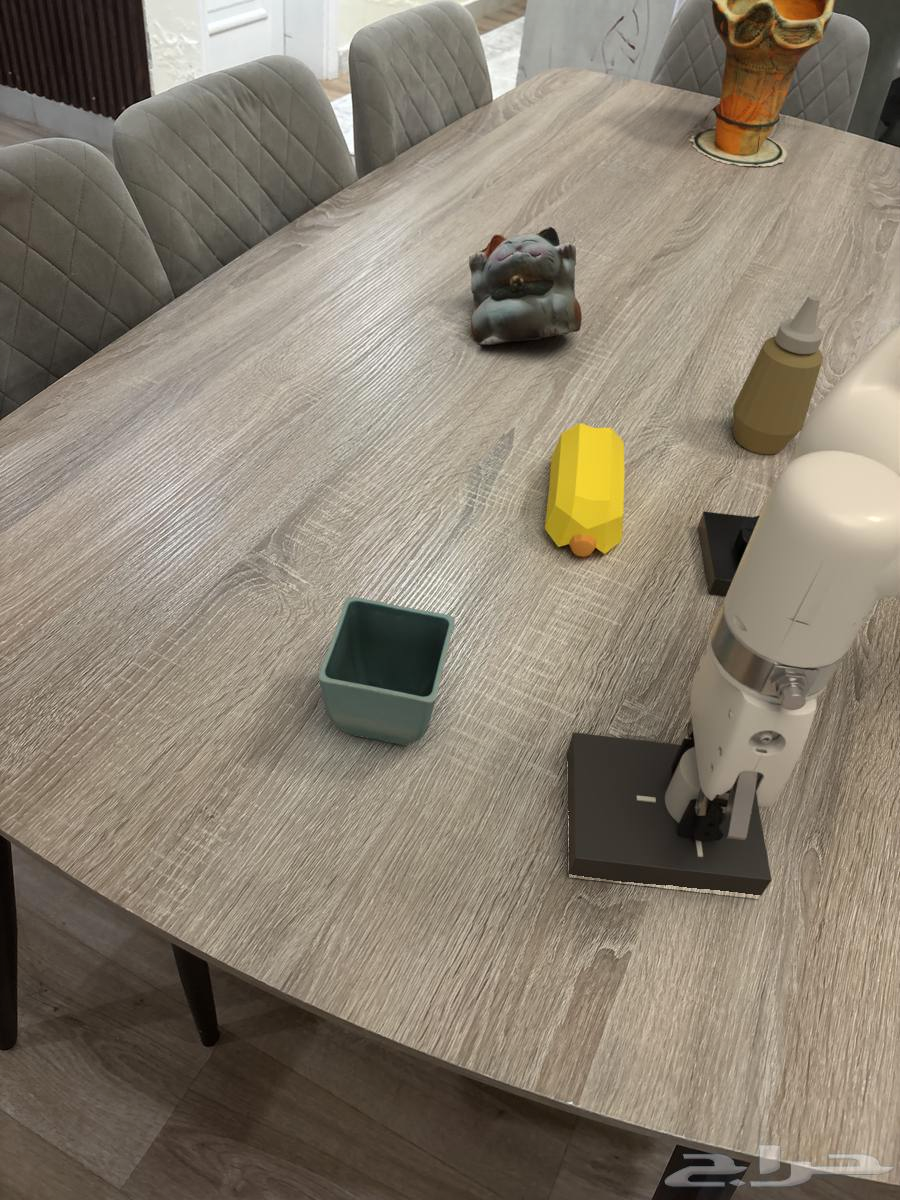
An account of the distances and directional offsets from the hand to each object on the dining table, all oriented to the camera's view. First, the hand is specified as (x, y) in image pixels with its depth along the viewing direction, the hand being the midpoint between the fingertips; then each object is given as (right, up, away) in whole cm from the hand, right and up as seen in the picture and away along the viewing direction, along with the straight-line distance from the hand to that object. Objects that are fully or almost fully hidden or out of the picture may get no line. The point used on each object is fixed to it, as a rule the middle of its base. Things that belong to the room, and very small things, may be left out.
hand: (695, 802), depth 70 cm
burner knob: (0, 0, 0) cm, 0 cm away
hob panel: (-2, -2, +2) cm, 4 cm away
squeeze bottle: (+18, +34, +40) cm, 55 cm away
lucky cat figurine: (-10, +50, +52) cm, 73 cm away
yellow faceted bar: (-4, +25, +28) cm, 38 cm away
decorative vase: (+35, +99, +106) cm, 149 cm away
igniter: (+13, +18, +24) cm, 33 cm away
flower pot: (-24, +5, +7) cm, 25 cm away
